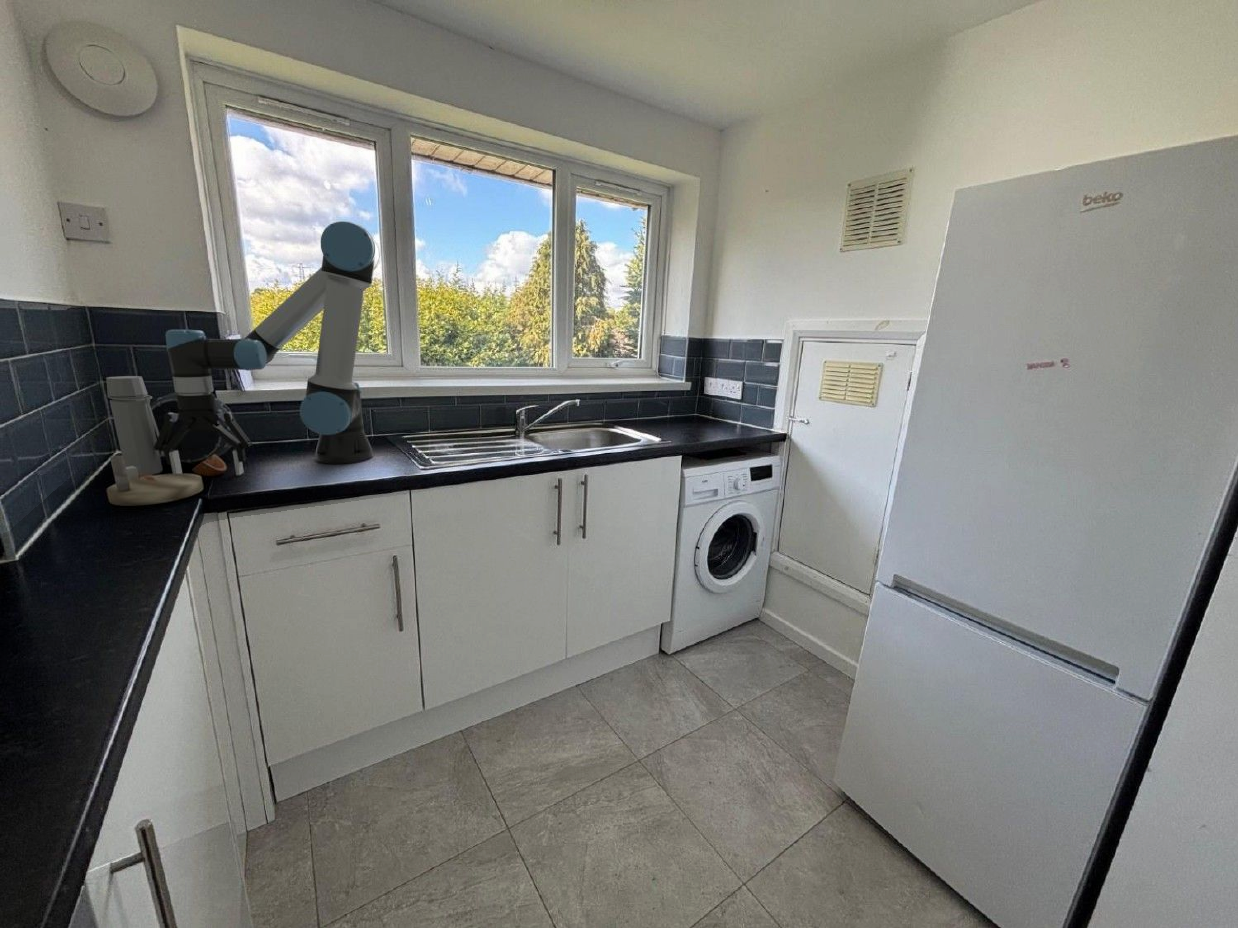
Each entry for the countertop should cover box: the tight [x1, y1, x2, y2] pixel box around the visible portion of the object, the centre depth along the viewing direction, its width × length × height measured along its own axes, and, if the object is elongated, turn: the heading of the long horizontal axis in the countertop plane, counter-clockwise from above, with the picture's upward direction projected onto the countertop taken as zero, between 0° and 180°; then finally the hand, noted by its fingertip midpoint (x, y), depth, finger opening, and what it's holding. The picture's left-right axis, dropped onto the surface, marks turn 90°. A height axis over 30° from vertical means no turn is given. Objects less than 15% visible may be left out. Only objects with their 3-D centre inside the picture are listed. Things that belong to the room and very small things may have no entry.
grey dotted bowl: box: [150, 391, 237, 465], centre depth 143 cm, size 11×20×20 cm, turn 107°
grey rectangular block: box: [126, 466, 139, 480], centre depth 121 cm, size 2×2×5 cm
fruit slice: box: [192, 454, 228, 477], centre depth 133 cm, size 8×7×5 cm
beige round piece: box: [106, 455, 204, 507], centre depth 115 cm, size 16×19×10 cm
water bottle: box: [106, 375, 165, 476], centre depth 130 cm, size 9×8×25 cm
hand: (209, 475), depth 133 cm, fingers open, 13 cm apart
